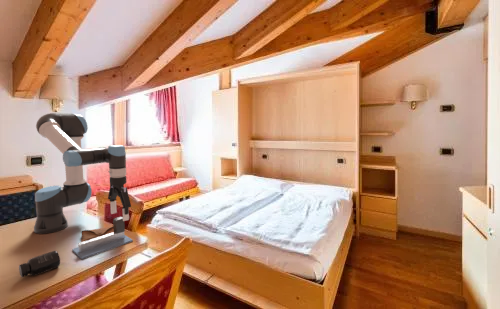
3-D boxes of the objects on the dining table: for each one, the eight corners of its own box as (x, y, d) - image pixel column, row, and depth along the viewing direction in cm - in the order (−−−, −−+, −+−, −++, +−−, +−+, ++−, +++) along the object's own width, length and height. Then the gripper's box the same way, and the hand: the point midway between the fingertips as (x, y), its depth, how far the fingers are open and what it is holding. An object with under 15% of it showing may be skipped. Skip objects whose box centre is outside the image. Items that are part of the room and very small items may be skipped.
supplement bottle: (53, 251, 111) (16, 262, 101) (58, 249, 107) (20, 261, 97) (57, 267, 110) (20, 280, 100) (61, 265, 106) (23, 279, 96)
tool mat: (72, 250, 121) (72, 249, 121) (121, 234, 139) (121, 233, 139) (81, 259, 114) (81, 257, 114) (132, 241, 131) (132, 239, 131)
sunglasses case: (79, 243, 128) (79, 229, 131) (81, 244, 134) (81, 231, 136) (119, 236, 137) (119, 223, 139) (119, 238, 143) (119, 226, 145)
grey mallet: (78, 251, 119) (76, 228, 118) (122, 236, 135) (120, 216, 133) (81, 253, 117) (79, 230, 116) (125, 238, 132) (124, 218, 131)
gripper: (99, 173, 133) (101, 212, 136) (121, 181, 118) (123, 225, 121) (114, 171, 139) (116, 208, 142) (137, 179, 124) (139, 221, 127)
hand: (119, 216), depth 131 cm, fingers open, 13 cm apart
